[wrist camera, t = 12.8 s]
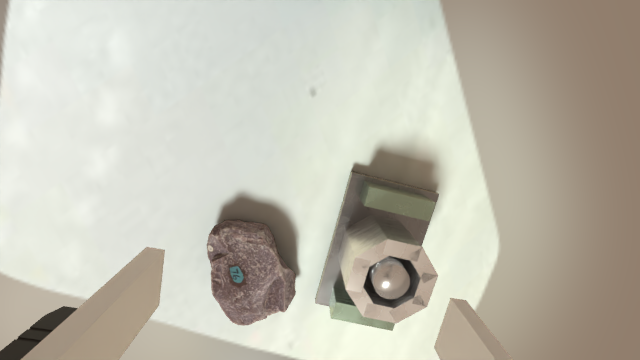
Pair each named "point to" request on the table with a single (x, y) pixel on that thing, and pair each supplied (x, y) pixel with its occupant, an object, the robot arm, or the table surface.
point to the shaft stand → (388, 273)
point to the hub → (371, 247)
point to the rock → (248, 272)
